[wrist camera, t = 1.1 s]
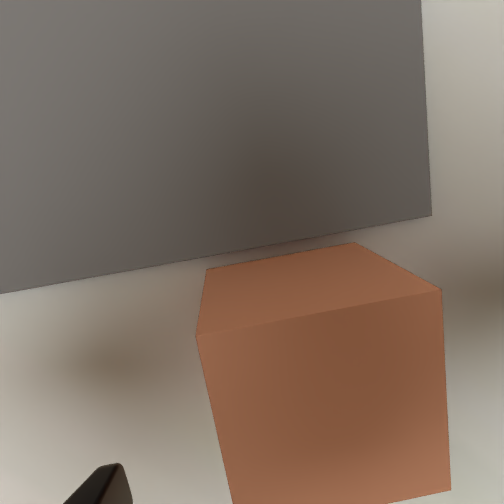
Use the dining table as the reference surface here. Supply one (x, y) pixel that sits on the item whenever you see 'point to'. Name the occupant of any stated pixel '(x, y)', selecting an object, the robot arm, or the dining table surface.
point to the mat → (202, 129)
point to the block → (326, 378)
